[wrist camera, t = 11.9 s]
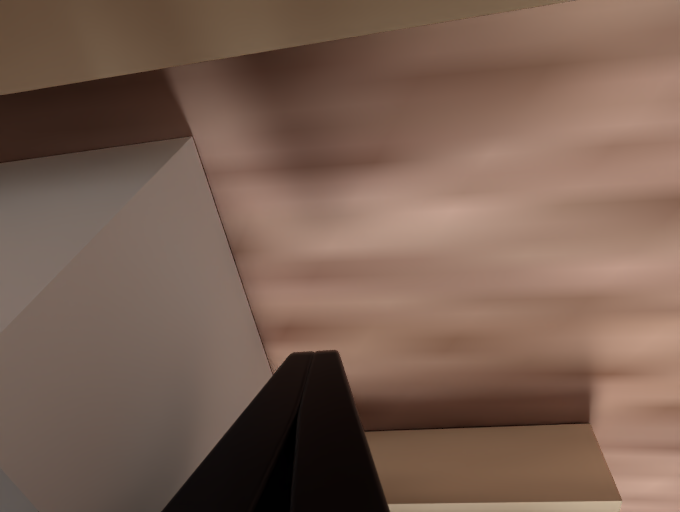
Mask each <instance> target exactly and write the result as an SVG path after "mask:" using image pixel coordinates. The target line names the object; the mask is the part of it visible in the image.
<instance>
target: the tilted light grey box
mask: <svg viewBox="0 0 680 512" xmlns="http://www.w3.org/2000/svg"><path fill="white" fill-rule="evenodd" d="M272 376H273V375H272V372H271V369H270V366H269V363H268V360H267V357H266V354H265V351H264V348H263V345H262V342H261V339H260V336H259V333H258V330H257V327H256V324H255V321H254V318H253V315H252V312H251V310H250V307H249V304H248V301H247V298H246V295H245V292H244V289H243V286H242V283H241V280H240V277H239V274H238V271H237V268H236V265H235V262H234V259H233V256H232V253H231V250H230V247H229V244H228V241H227V238H226V235H225V232H224V229H223V226H222V223H221V220H220V217H219V214H218V212H217V209H216V206H215V203H214V200H213V197H212V194H211V191H210V188H209V185H208V182H207V179H206V176H205V173H204V170H203V167H202V164H201V161H200V158H199V155H198V152H197V149H196V146H195V143H194V140H193V137H192V136H191V137H183V138H176V139H169V140H162V141H155V142H148V143H141V144H133V145H126V146H119V147H112V148H105V149H98V150H91V151H84V152H76V153H69V154H62V155H55V156H48V157H41V158H34V159H26V160H19V161H12V162H5V163H0V512H161V511H162V510H163V509H164V507H165V506H166V505H167V504H168V503H169V501H170V500H171V499H172V498H173V496H174V495H175V494H176V493H177V492H178V490H179V489H180V488H181V487H182V485H183V484H184V483H185V482H186V481H187V479H188V478H189V477H190V476H191V474H192V473H193V472H194V471H195V470H196V468H197V467H198V466H199V465H200V463H201V462H202V461H203V460H204V459H205V457H206V456H207V455H208V454H209V452H210V451H211V450H212V449H213V448H214V446H215V445H216V444H217V443H218V441H219V440H220V439H221V438H222V437H223V435H224V434H225V433H226V432H227V431H228V429H229V428H230V427H231V426H232V424H233V423H234V422H235V421H236V420H237V418H238V417H239V416H240V415H241V413H242V412H243V411H244V410H245V409H246V407H247V406H248V405H249V404H250V402H251V401H252V400H253V399H254V398H255V396H256V395H257V394H258V393H259V391H260V390H261V389H262V388H263V387H264V385H265V384H266V383H267V382H268V380H269V379H270V378H271V377H272Z"/></svg>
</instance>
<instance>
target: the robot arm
mask: <svg viewBox="0 0 680 512" xmlns="http://www.w3.org/2000/svg"><path fill="white" fill-rule="evenodd" d="M161 512H390V510H389V507H388V504H387V500H386V497H385V494H384V491H383V488H382V485H381V482H380V479H379V476H378V472H377V469H376V466H375V463H374V460H373V457H372V454H371V451H370V448H369V444H368V441H367V438H366V435H365V432H364V429H363V426H362V423H361V420H360V416H359V413H358V410H357V407H356V404H355V401H354V398H353V395H352V392H351V388H350V385H349V382H348V379H347V376H346V373H345V370H344V367H343V364H342V360H341V357H340V354H339V352H338V351H337V350H326V351H316V352H312V351H309V352H294V353H292V354H290V355H289V356H288V357H287V358H286V360H285V361H284V362H283V363H282V365H281V366H280V367H279V368H278V369H277V371H276V372H275V373H274V374H273V376H272V377H271V378H270V379H269V380H268V382H267V383H266V384H265V385H264V387H263V388H262V389H261V390H260V391H259V393H258V394H257V395H256V396H255V398H254V399H253V400H252V401H251V402H250V404H249V405H248V406H247V407H246V409H245V410H244V411H243V412H242V413H241V415H240V416H239V417H238V418H237V420H236V421H235V422H234V423H233V424H232V426H231V427H230V428H229V429H228V431H227V432H226V433H225V434H224V435H223V437H222V438H221V439H220V440H219V441H218V443H217V444H216V445H215V446H214V448H213V449H212V450H211V451H210V452H209V454H208V455H207V456H206V457H205V459H204V460H203V461H202V462H201V463H200V465H199V466H198V467H197V468H196V470H195V471H194V472H193V473H192V474H191V476H190V477H189V478H188V479H187V481H186V482H185V483H184V484H183V485H182V487H181V488H180V489H179V490H178V492H177V493H176V494H175V495H174V496H173V498H172V499H171V500H170V501H169V503H168V504H167V505H166V506H165V507H164V509H163V510H162V511H161Z"/></svg>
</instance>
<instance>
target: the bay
mask: <svg viewBox="0 0 680 512" xmlns="http://www.w3.org/2000/svg"><path fill="white" fill-rule="evenodd" d="M569 1H575V0H0V95H5V94H11V93H17V92H24V91H30V90H36V89H42V88H48V87H54V86H60V85H66V84H72V83H78V82H84V81H90V80H96V79H102V78H108V77H114V76H121V75H127V74H133V73H139V72H145V71H151V70H157V69H163V68H169V67H175V66H181V65H187V64H193V63H199V62H205V61H211V60H218V59H224V58H230V57H236V56H242V55H248V54H254V53H260V52H266V51H272V50H278V49H284V48H290V47H296V46H302V45H308V44H314V43H321V42H327V41H333V40H339V39H345V38H351V37H357V36H363V35H369V34H375V33H381V32H387V31H393V30H399V29H405V28H411V27H418V26H424V25H430V24H436V23H442V22H448V21H454V20H460V19H466V18H472V17H478V16H484V15H490V14H496V13H502V12H508V11H514V10H521V9H527V8H533V7H539V6H545V5H551V4H557V3H563V2H569ZM365 435H366V438H367V441H368V444H369V448H370V451H371V454H372V457H373V460H374V463H375V466H376V469H377V472H378V476H379V479H380V482H381V485H382V488H383V491H384V494H385V497H386V500H387V504H388V507H389V510H390V512H620V508H621V504H622V499H621V496H620V494H619V492H618V489H617V487H616V484H615V482H614V480H613V477H612V475H611V473H610V470H609V468H608V465H607V463H606V461H605V458H604V456H603V453H602V451H601V449H600V446H599V444H598V441H597V439H596V437H595V434H594V432H593V429H592V427H591V425H590V424H563V425H536V426H509V427H482V428H454V429H427V430H400V431H373V432H365Z"/></svg>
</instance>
